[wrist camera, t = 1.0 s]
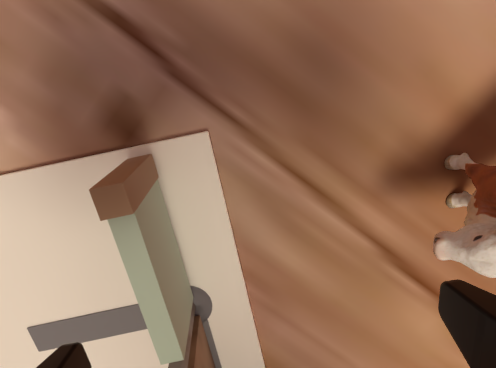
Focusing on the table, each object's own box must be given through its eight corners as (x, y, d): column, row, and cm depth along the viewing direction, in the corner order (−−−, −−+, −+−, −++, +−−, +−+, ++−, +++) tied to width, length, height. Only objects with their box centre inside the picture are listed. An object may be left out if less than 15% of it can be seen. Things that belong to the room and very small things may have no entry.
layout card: (274, 407, 26) (275, 413, 25) (24, 460, 26) (20, 467, 25) (208, 130, 19) (207, 132, 18) (-133, 203, 19) (-143, 206, 18)
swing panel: (195, 297, 21) (185, 366, 16) (173, 301, 21) (157, 372, 16) (151, 153, 18) (122, 182, 13) (127, 158, 18) (88, 189, 13)
